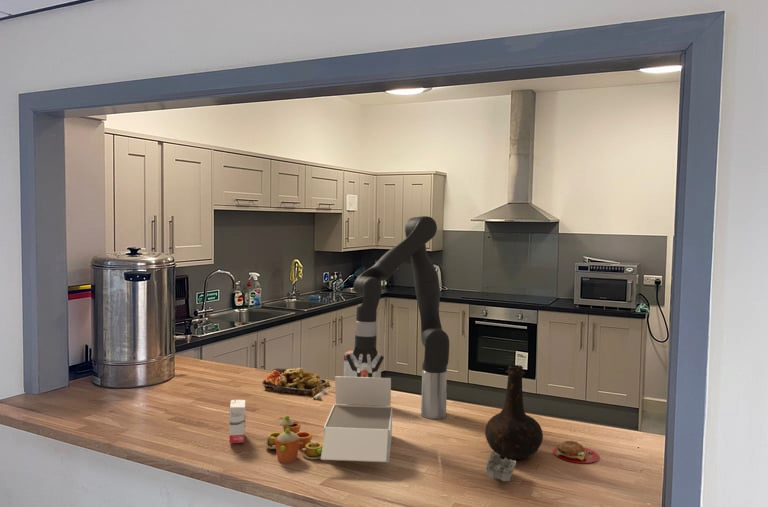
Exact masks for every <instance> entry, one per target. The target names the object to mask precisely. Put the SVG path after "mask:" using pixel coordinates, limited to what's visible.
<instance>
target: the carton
mask: <svg viewBox="0 0 768 507" xmlns="http://www.w3.org/2000/svg"><path fill="white" fill-rule="evenodd" d="M332 405H333V406H332V408H331V410H330V412H329V415H328V416H327V419H326V422H325V424H324V426H323V442H322V444H323V447H322V453H321V458H320V460H323V461H343V462H346V461H347V462H361V463H362V462H365V463H388V464H389V463H390V458H391V457H390V456H391V447H392V436H393V406H381V405H379V406H363V405H351V404H336V403H335V404H332Z"/></svg>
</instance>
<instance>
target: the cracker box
mask: <svg viewBox="0 0 768 507" xmlns="http://www.w3.org/2000/svg"><path fill="white" fill-rule="evenodd" d="M353 351H354V350H348V351H346V352H344V353H343V376H345V377H357V372H356V371H352V369H351V367H350V364H349V362H348V360H347V358H346V356H347V354H348V353H349V354H350V353H352V352H353ZM378 354H380V355H382V353H379V352H378ZM352 360H353V362H354V364H355V366H356V367H358V360H357V359H356V357H355V356H354V355H353V359H352ZM377 362H378V360H377V356H376V357H375V358H374V360H373V361H372V368H374V367H375V366H376V364H377ZM362 370H367V371H368V372H369V369H368V363H362V366H361V371H362ZM361 377H362V376H361ZM367 377H368V376H367ZM372 377H375V378H382V364H381V365H380V366H379V368H378V370H377V372H373V373H372ZM350 405H354V404H350ZM363 406H380V405H363Z"/></svg>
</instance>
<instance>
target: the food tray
mask: <svg viewBox="0 0 768 507" xmlns="http://www.w3.org/2000/svg"><path fill="white" fill-rule="evenodd" d="M271 371H272V372H271V373H269V374H268V375H267V376H266V379H263V380H262V381H261V384H262V385H263V387H264V390H266V391H270V392H277V393H283V394H292V395H293V394H294V395H298V396H299V395H300V396H308V397H311V396H313V400H318V399H322V398H323V397H325V394H326V393H329V390H330V389H333V390H334V391H335V385H334V386H332V385H330V381H329V380H327V379H324V378H323V379H321V377H320V375H319V374H314V373H313V372H312V371H305V370H304V368H303V367H282V368H281V367H280V368H272V370H271ZM333 390H332V391H333Z"/></svg>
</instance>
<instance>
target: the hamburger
mask: <svg viewBox="0 0 768 507" xmlns="http://www.w3.org/2000/svg"><path fill="white" fill-rule="evenodd" d="M583 446H584V445H582V444H580V443H579V442H577V441H574V440H565V441H562V442H560V443H559V444H558V445H557V446H555V447H554V448H553V449H552V453H553V454H554V456H557V457H558V458H560V459H562V460H564V461H567V462H568V461H569V462H572V463H576V464H577V463H578V464H591V463H595V462H597V461H599V460H600V455H599V454H598V453H597V452H596V451H594V450H593V449H590V448H586V447H583ZM587 455H589V456H590V457H589V458H585V456H587ZM591 455H592V456H591Z"/></svg>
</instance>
